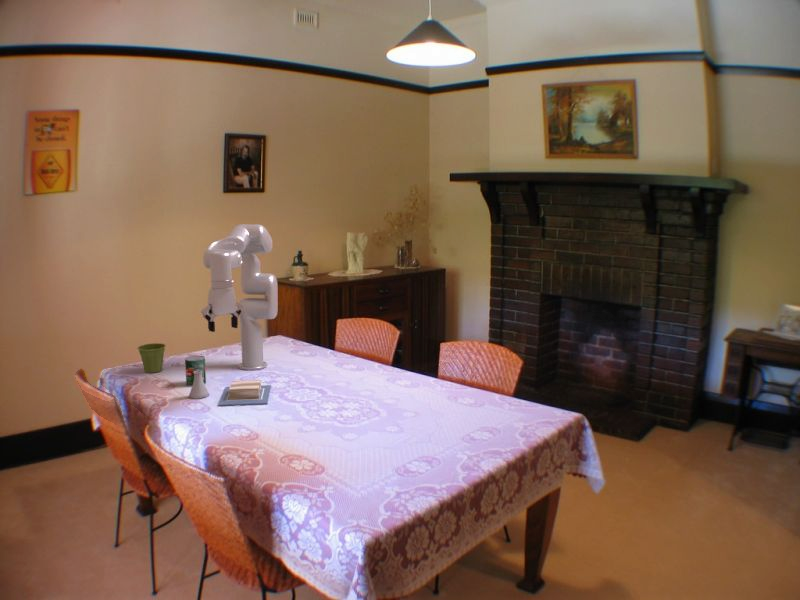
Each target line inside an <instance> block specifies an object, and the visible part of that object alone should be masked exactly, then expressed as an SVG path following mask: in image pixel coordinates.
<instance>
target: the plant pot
mask: <svg viewBox="0 0 800 600" xmlns="http://www.w3.org/2000/svg"><path fill="white" fill-rule="evenodd" d="M166 347H167V344H166V343H160V342H159V343H158V342H155V343H154V342H153V343H147V344H143V345H142V344H141V345H139V346H137V347H136V348H137V350H138V353H139V354H140V358H141V361H142V362H141V363H142V366H143V369H144V372H145V373H146V372H147V373H146V374H154V373H160V372H162V371H163V364H164V356H165V355H164V353H165V349H166Z"/></svg>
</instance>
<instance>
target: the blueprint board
mask: <svg viewBox="0 0 800 600" xmlns="http://www.w3.org/2000/svg"><path fill="white" fill-rule="evenodd" d="M229 388H230V386H226V387H225V388H224V390H223V393H222V395H221V396H220V399H219V402H218V404H217V406H218V407H233V406H234V405H240V406H257V405H259V406H261V405H262V406H263V404H265V405H268V402H269V399H270V398H269V397H270V394H269V393H271V388H272V385H271V384H269V385H266V384H265V385H261V392H260V396H259V399H234V400H229ZM234 407H235V406H234Z"/></svg>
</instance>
